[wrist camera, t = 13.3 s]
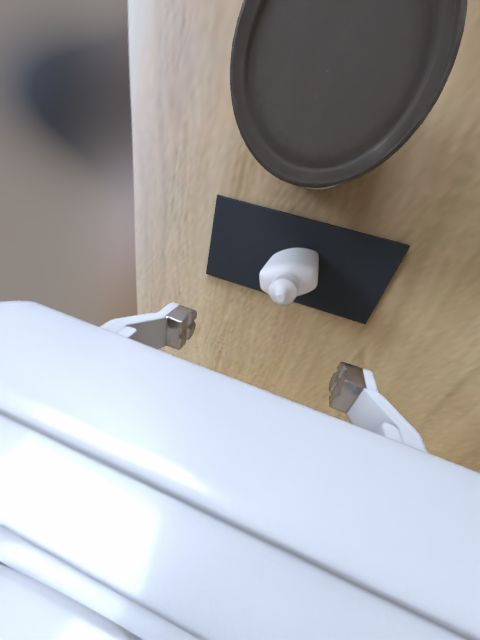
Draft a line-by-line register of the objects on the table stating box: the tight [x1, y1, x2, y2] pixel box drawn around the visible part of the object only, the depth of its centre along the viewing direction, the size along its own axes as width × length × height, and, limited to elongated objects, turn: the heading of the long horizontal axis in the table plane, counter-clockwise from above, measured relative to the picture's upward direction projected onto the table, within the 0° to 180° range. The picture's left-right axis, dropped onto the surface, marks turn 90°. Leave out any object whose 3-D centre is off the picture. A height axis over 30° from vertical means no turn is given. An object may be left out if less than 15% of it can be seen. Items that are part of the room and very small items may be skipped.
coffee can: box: [230, 0, 467, 189], centre depth 17 cm, size 10×10×14 cm
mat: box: [206, 195, 410, 324], centre depth 30 cm, size 10×22×1 cm, turn 77°
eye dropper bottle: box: [259, 248, 319, 305], centre depth 24 cm, size 4×6×12 cm
